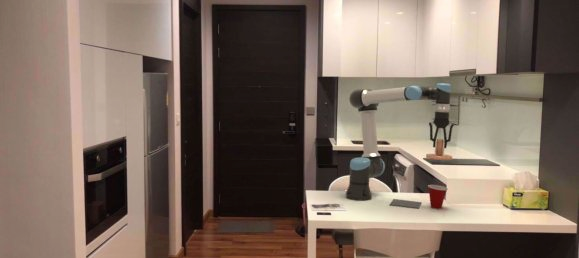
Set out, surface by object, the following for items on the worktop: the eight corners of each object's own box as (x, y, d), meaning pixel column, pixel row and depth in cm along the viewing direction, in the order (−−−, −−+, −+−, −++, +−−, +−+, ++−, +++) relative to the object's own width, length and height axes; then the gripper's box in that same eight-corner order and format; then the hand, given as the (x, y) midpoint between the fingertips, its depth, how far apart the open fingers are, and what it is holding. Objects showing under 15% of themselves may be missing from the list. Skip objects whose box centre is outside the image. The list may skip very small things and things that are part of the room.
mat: (389, 205, 279) (389, 204, 279) (393, 199, 293) (393, 198, 293) (418, 208, 274) (418, 207, 274) (421, 203, 288) (421, 202, 288)
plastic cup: (447, 210, 272) (448, 189, 271) (427, 208, 274) (428, 187, 273) (445, 206, 283) (447, 185, 282) (426, 204, 285) (427, 183, 284)
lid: (424, 158, 272) (426, 139, 271) (427, 155, 285) (428, 137, 284) (451, 161, 267) (453, 141, 266) (452, 157, 280) (454, 139, 279)
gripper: (426, 111, 273) (423, 153, 275) (457, 112, 267) (454, 155, 270) (427, 110, 280) (424, 151, 282) (458, 112, 274) (455, 154, 277)
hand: (439, 153), depth 276 cm, fingers closed on lid, 3 cm apart
